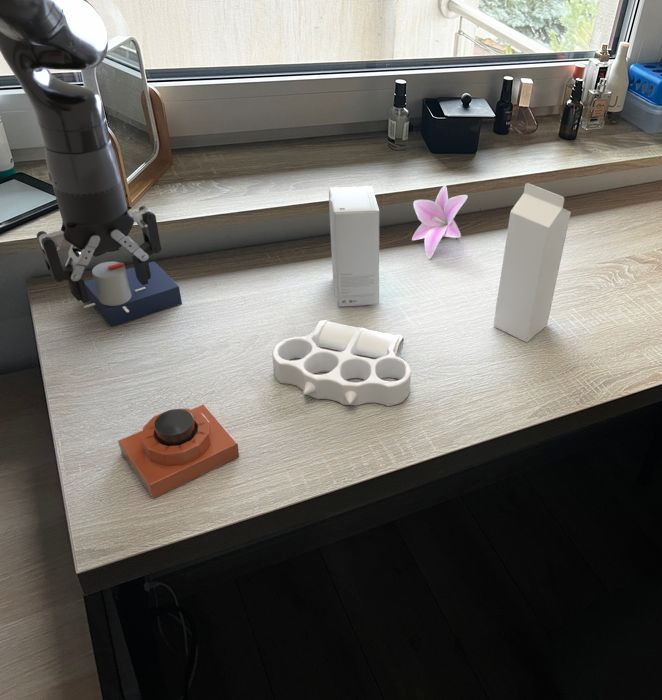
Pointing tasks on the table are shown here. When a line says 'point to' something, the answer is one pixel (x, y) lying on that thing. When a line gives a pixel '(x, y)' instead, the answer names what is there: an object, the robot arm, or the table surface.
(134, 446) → the button base
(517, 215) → the milk
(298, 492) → the table surface
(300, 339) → the white brass knuckles
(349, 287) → the cosmetic box
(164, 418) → the dark grey short cylinder
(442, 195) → the lily
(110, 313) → the dial panel
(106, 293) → the dial
